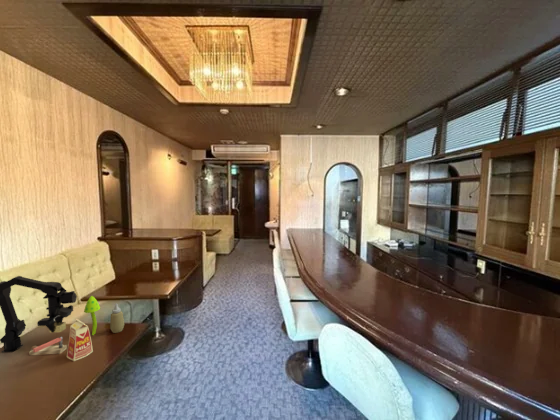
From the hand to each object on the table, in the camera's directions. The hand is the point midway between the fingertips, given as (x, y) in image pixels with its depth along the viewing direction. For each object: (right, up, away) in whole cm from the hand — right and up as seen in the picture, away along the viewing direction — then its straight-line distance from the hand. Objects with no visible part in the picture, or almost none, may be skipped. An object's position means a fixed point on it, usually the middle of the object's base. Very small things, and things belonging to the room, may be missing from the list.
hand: (55, 330), depth 156 cm
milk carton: (+23, -9, -11) cm, 27 cm away
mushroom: (+15, -8, +10) cm, 20 cm away
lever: (+7, -2, -13) cm, 15 cm away
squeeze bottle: (+28, -7, +14) cm, 32 cm away
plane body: (+3, -9, -8) cm, 12 cm away
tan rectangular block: (+1, 0, 0) cm, 1 cm away
